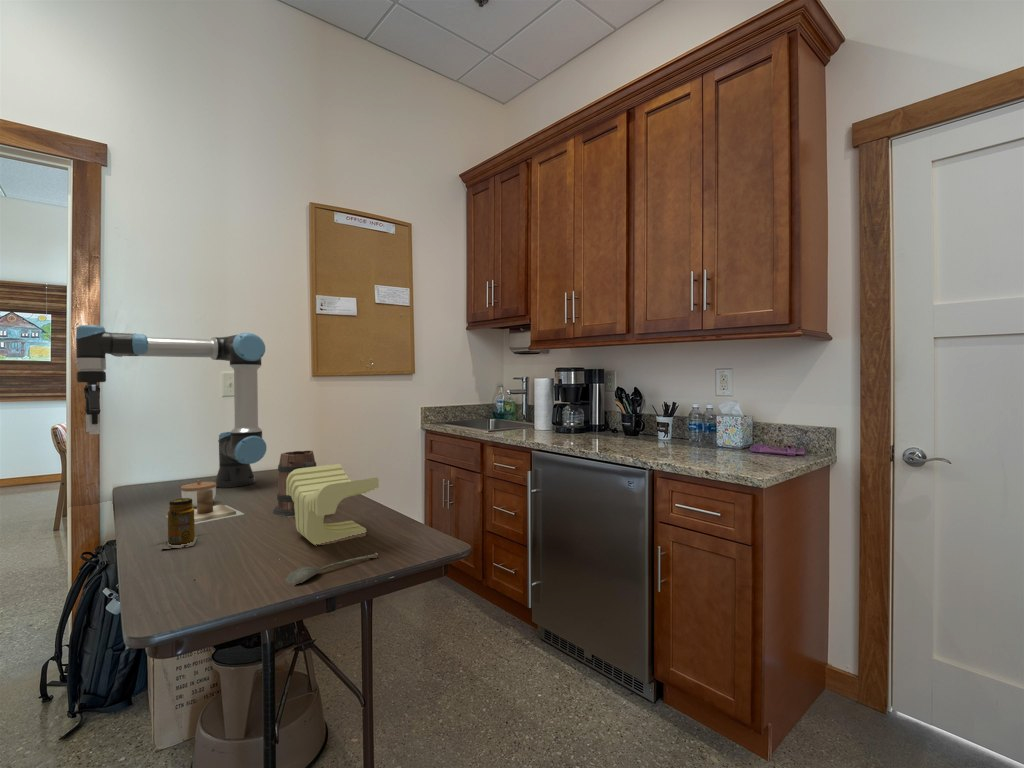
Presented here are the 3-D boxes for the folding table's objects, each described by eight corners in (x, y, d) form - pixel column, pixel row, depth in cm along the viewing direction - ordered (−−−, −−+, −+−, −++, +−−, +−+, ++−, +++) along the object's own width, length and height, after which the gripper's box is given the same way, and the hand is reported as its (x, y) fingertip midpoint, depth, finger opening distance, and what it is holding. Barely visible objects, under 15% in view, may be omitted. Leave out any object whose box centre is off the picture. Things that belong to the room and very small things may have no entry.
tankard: (263, 511, 166) (262, 452, 166) (313, 502, 177) (312, 447, 177) (288, 525, 149) (286, 460, 149) (341, 514, 160) (340, 453, 160)
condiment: (198, 538, 138) (197, 495, 138) (193, 546, 130) (192, 502, 130) (167, 542, 135) (166, 499, 135) (160, 551, 127) (159, 505, 127)
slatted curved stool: (287, 530, 144) (285, 470, 144) (341, 519, 154) (339, 463, 154) (318, 557, 120) (317, 486, 120) (379, 543, 130) (378, 477, 130)
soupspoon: (278, 585, 107) (289, 595, 102) (277, 570, 107) (288, 580, 102) (371, 555, 122) (383, 563, 117) (370, 542, 122) (383, 550, 117)
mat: (226, 506, 172) (226, 505, 172) (244, 515, 160) (244, 514, 160) (165, 518, 159) (165, 516, 159) (180, 528, 147) (180, 526, 147)
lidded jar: (204, 510, 168) (203, 483, 168) (173, 510, 169) (173, 483, 169) (223, 502, 179) (222, 477, 179) (194, 502, 179) (194, 477, 179)
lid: (221, 507, 169) (221, 484, 169) (236, 514, 160) (235, 490, 160) (174, 516, 159) (173, 491, 159) (186, 523, 150) (185, 498, 150)
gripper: (74, 371, 172) (76, 431, 172) (79, 369, 155) (80, 436, 155) (102, 371, 178) (103, 429, 178) (109, 369, 160) (111, 434, 160)
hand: (93, 432), depth 166 cm, fingers open, 13 cm apart
